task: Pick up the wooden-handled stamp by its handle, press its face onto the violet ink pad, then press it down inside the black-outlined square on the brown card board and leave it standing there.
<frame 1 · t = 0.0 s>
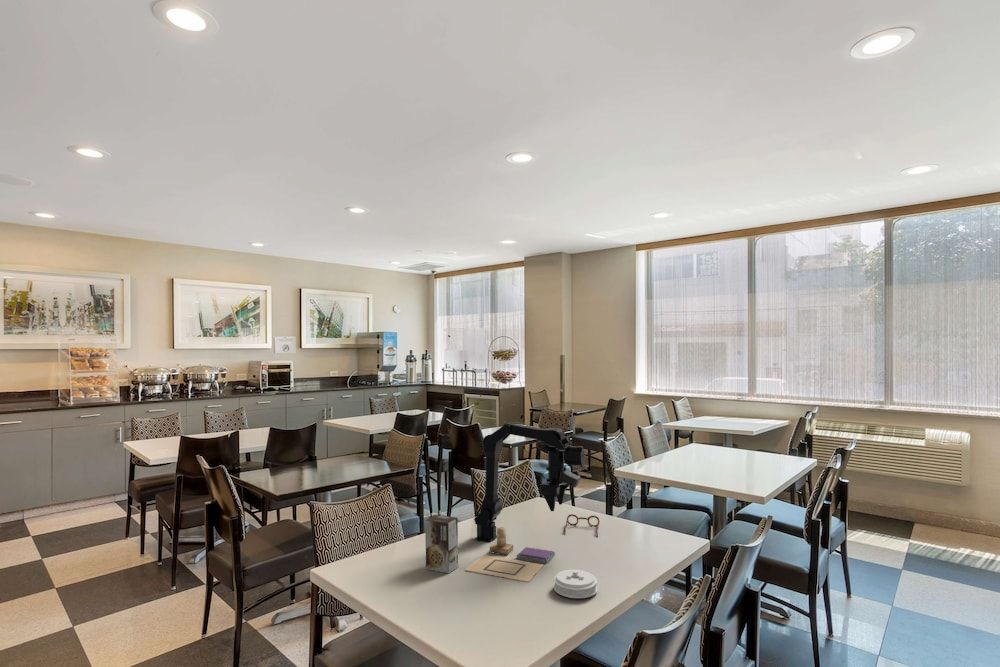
hand: (556, 507, 191), 15 cm above the table, tool pointing down, fingers open, 9 cm apart
glasses: (582, 532, 210), on the table
stamp: (501, 551, 189), on the table
coffee box: (441, 568, 174), on the table
lid: (575, 592, 157), on the table
ink pad: (535, 557, 183), on the table
stamp board: (504, 568, 174), on the table
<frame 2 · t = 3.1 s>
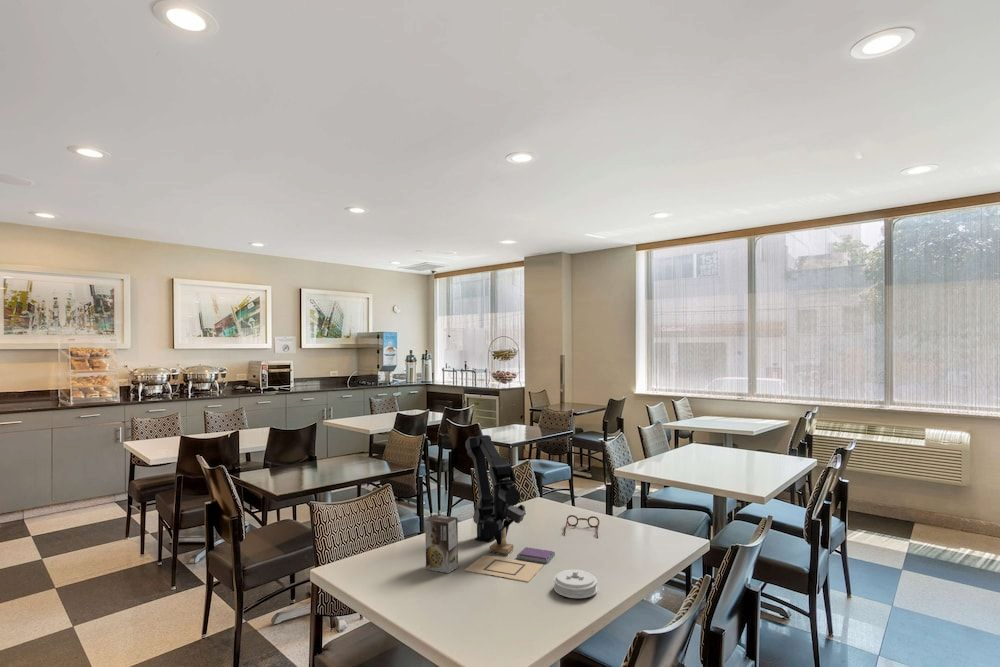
hand: (501, 543, 189), 3 cm above the table, tool pointing down, fingers closed on stamp, 3 cm apart
stamp: (501, 551, 189), on the table, touching gripper
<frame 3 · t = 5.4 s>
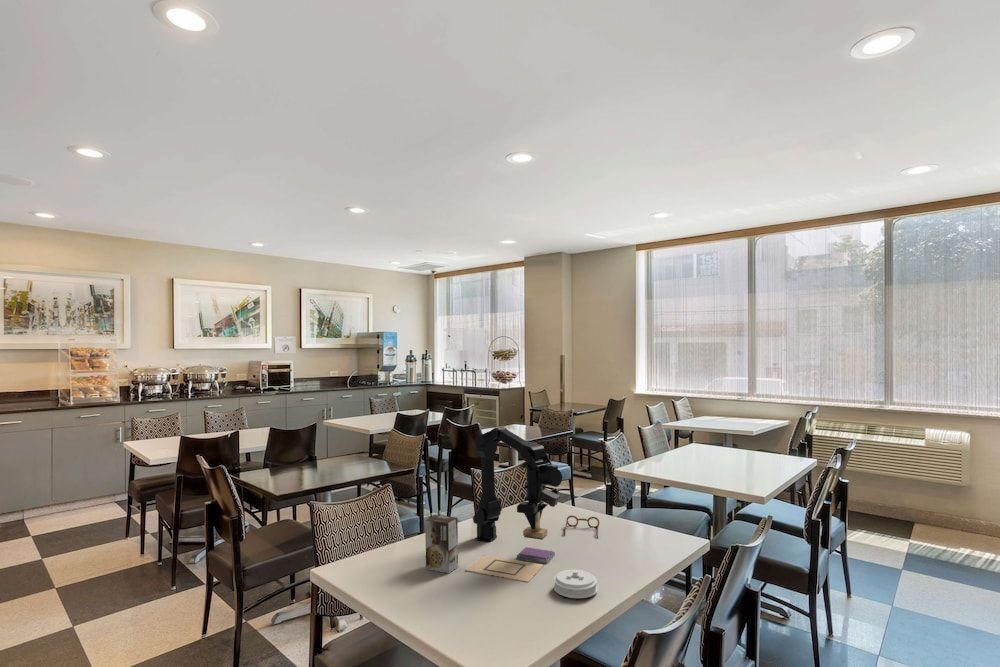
hand: (535, 527, 184), 10 cm above the table, tool pointing down, fingers closed on stamp, 3 cm apart
stamp: (535, 536, 183), point 7 cm above the table, touching gripper
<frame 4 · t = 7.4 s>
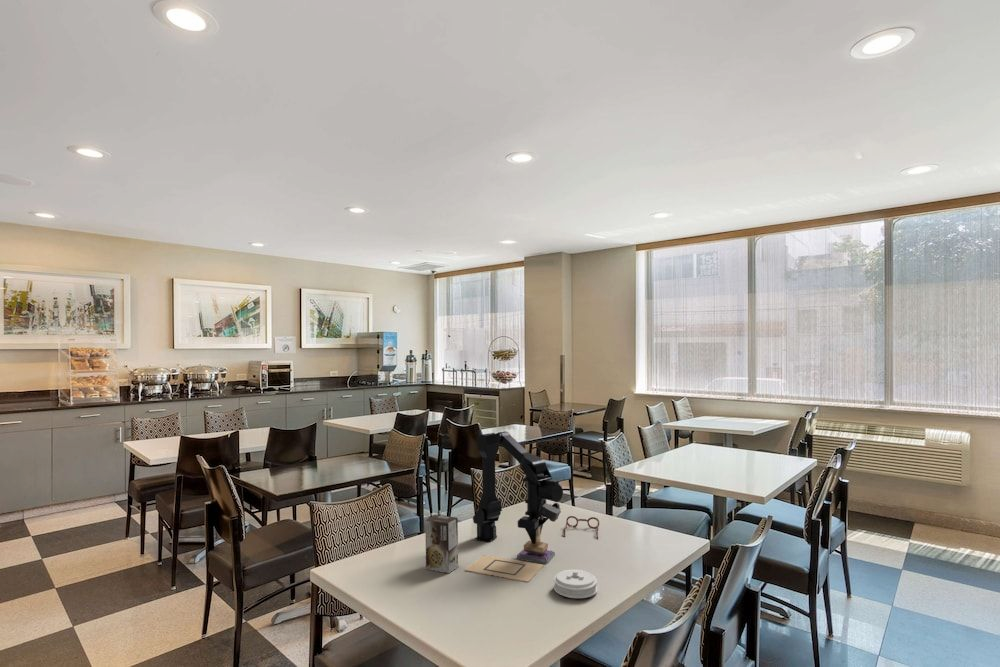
hand: (535, 541, 183), 5 cm above the table, tool pointing down, fingers closed on stamp, 3 cm apart
stamp: (535, 550, 183), point 2 cm above the table, touching gripper
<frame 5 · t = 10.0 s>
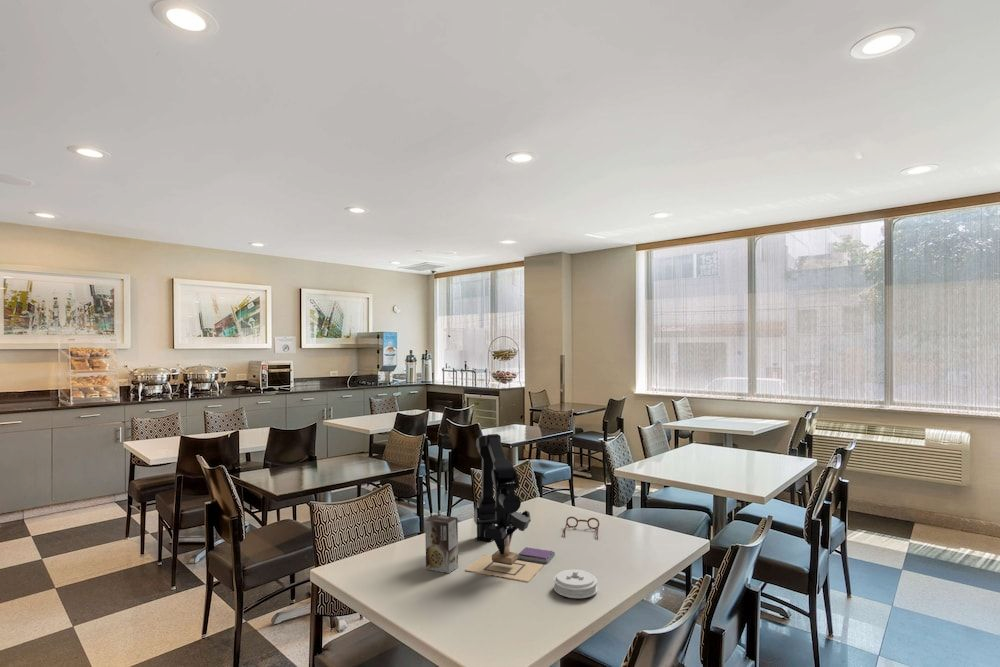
hand: (504, 552, 174), 5 cm above the table, tool pointing down, fingers closed on stamp, 3 cm apart
stamp: (504, 561, 174), point 2 cm above the table, touching gripper
when the fingers open (3 cm above the table, at t = 11.7 s): stamp stays where it is, resting on stamp board.
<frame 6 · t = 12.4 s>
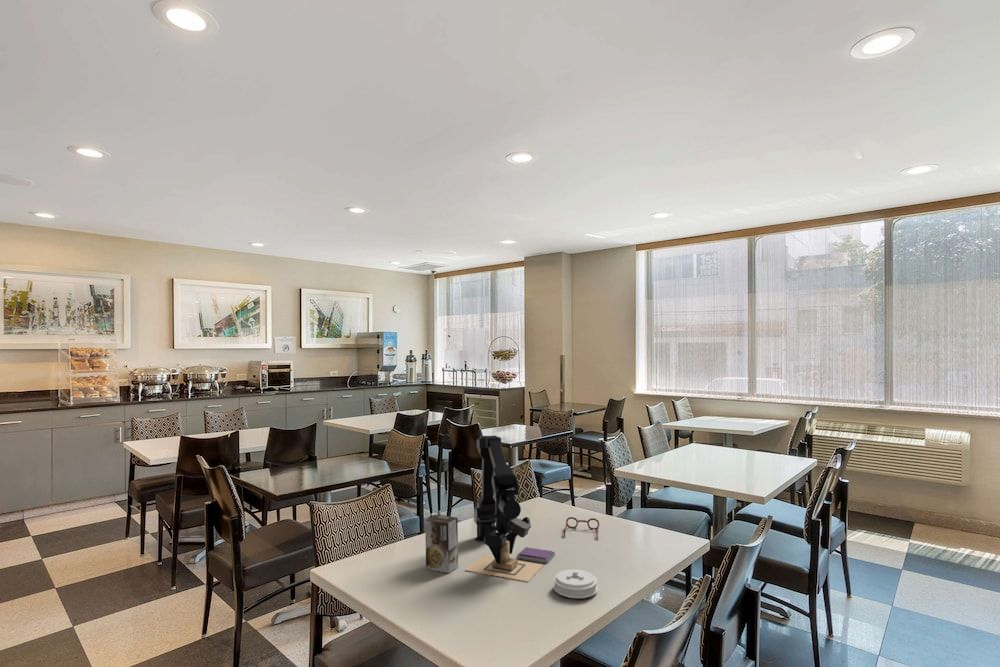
hand: (504, 558, 174), 3 cm above the table, tool pointing down, fingers open, 9 cm apart
stamp: (504, 567, 174), resting on stamp board
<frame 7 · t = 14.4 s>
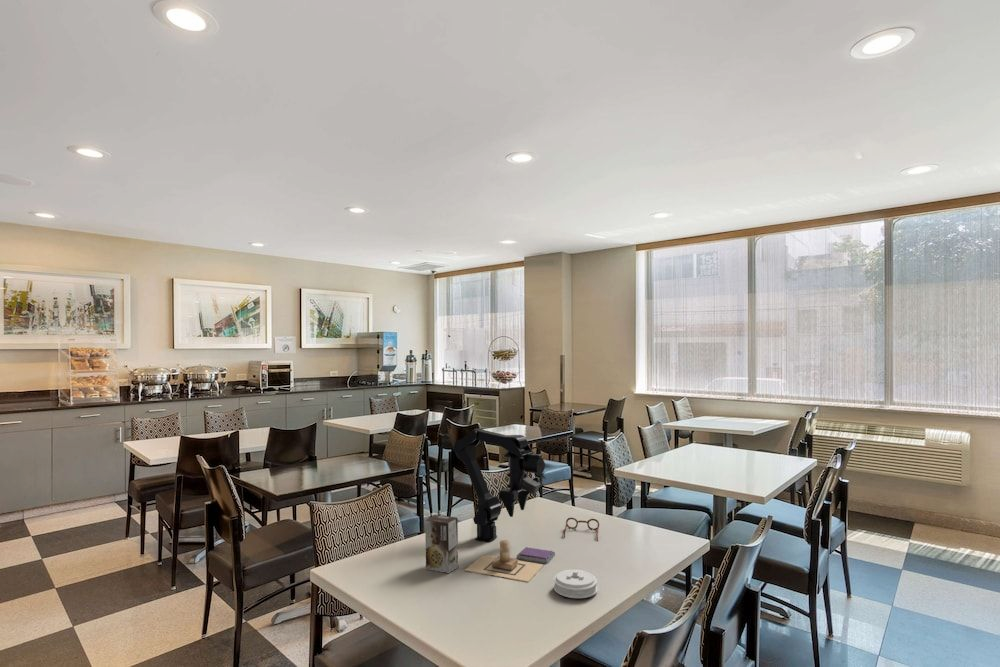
hand: (516, 513, 195), 12 cm above the table, tool pointing down, fingers open, 9 cm apart
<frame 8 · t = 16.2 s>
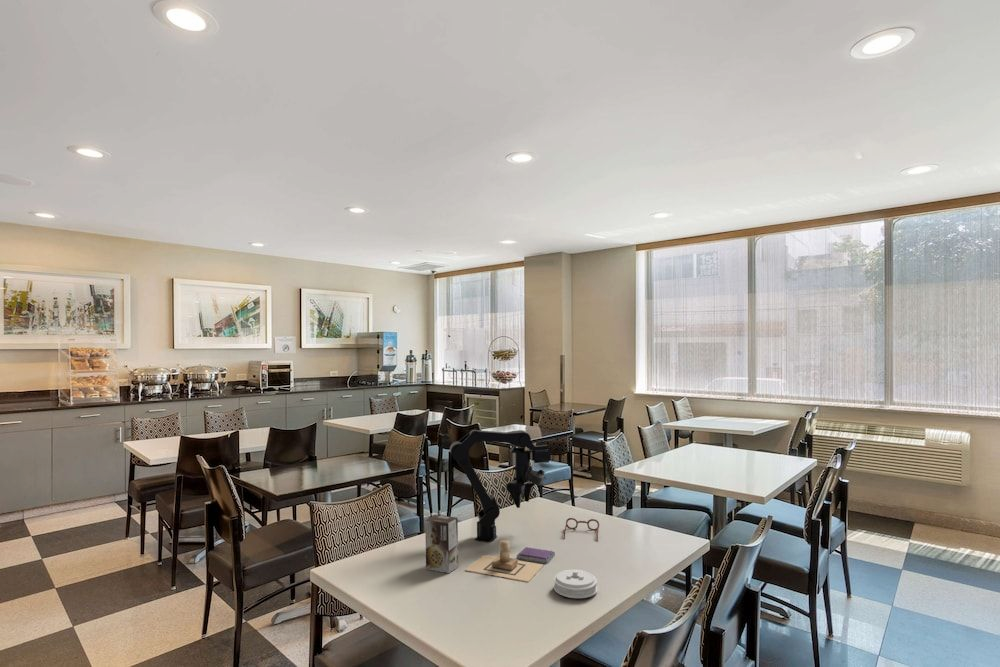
hand: (522, 504, 205), 12 cm above the table, tool pointing down, fingers open, 9 cm apart
at the end: stamp 0.1 cm off-centre on the stamp board, point 0.3 cm above the stamp board's base; stamp tilted 0°; the gripper is holding nothing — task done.
